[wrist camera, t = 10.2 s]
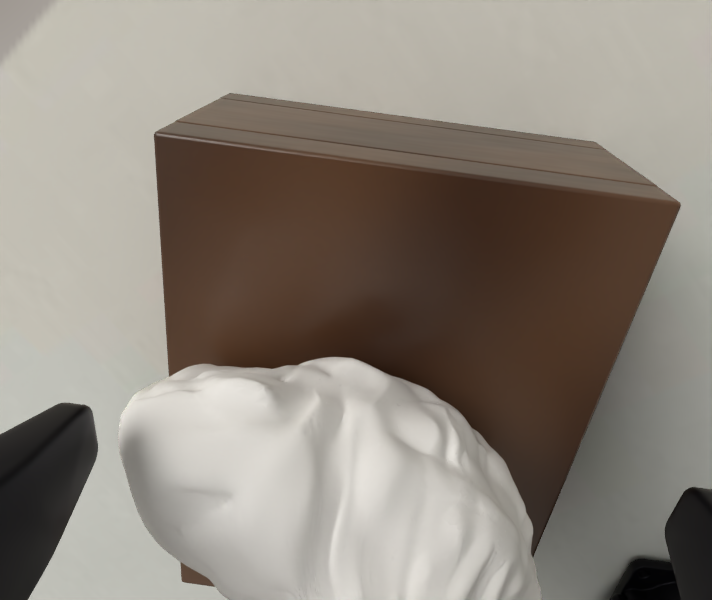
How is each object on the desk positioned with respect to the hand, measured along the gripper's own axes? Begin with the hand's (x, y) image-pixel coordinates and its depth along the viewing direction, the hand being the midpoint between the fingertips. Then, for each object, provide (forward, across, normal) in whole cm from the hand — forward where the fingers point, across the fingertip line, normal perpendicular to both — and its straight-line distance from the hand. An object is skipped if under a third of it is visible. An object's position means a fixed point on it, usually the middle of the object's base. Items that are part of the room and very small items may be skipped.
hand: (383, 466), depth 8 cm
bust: (+5, 0, +4) cm, 7 cm away
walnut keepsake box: (+11, 0, +4) cm, 12 cm away
